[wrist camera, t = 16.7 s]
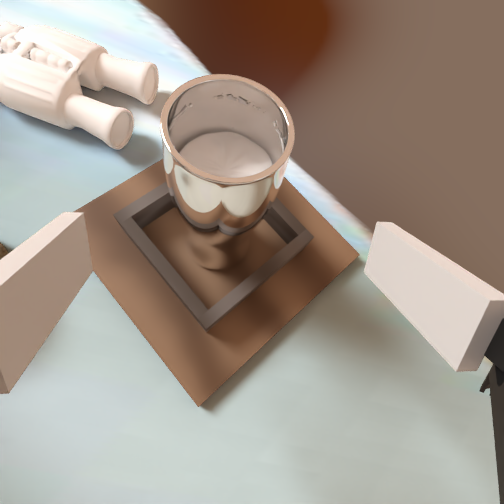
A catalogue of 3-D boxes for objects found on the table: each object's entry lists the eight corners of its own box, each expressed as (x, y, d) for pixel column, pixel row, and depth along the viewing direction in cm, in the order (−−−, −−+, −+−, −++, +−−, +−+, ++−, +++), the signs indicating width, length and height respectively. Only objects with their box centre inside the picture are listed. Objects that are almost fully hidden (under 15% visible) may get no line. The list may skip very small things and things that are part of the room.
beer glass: (269, 240, 30) (326, 130, 16) (218, 291, 27) (231, 216, 13) (217, 193, 31) (227, 50, 17) (163, 238, 28) (122, 117, 14)
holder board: (198, 405, 25) (197, 412, 21) (60, 226, 28) (38, 206, 25) (355, 257, 31) (375, 243, 28) (228, 126, 35) (230, 97, 31)
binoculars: (120, 160, 32) (107, 128, 27) (-28, 104, 32) (-65, 63, 27) (163, 90, 36) (157, 52, 31) (31, 40, 35) (7, -6, 31)
